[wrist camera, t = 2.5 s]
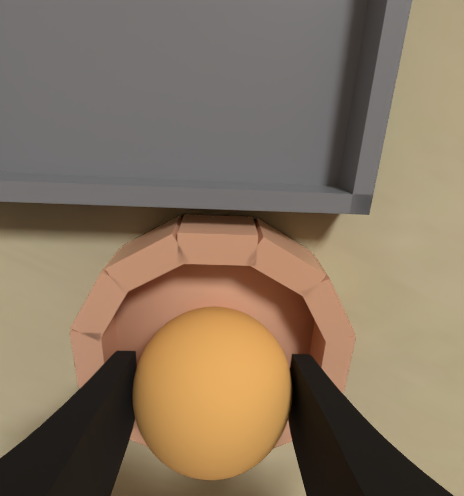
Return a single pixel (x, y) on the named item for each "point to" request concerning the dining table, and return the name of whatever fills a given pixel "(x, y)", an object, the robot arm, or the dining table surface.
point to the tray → (197, 102)
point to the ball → (212, 393)
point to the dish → (213, 294)
